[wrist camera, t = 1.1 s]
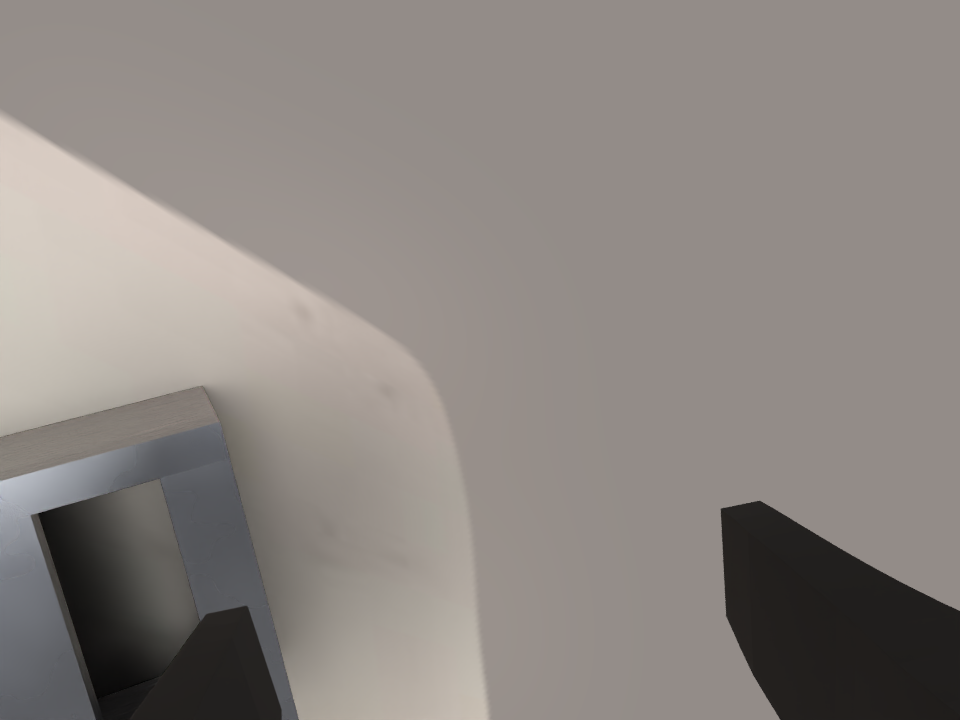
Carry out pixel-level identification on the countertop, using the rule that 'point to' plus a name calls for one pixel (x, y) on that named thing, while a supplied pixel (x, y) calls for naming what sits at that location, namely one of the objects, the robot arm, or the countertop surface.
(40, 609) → the box
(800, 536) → the robot arm
